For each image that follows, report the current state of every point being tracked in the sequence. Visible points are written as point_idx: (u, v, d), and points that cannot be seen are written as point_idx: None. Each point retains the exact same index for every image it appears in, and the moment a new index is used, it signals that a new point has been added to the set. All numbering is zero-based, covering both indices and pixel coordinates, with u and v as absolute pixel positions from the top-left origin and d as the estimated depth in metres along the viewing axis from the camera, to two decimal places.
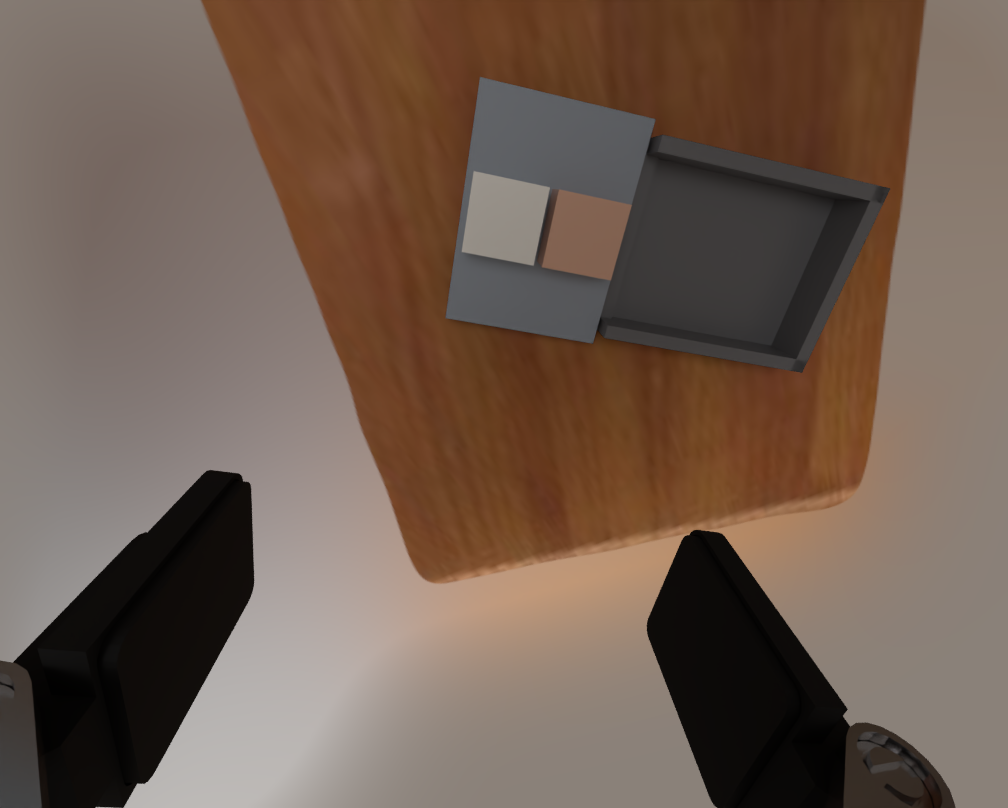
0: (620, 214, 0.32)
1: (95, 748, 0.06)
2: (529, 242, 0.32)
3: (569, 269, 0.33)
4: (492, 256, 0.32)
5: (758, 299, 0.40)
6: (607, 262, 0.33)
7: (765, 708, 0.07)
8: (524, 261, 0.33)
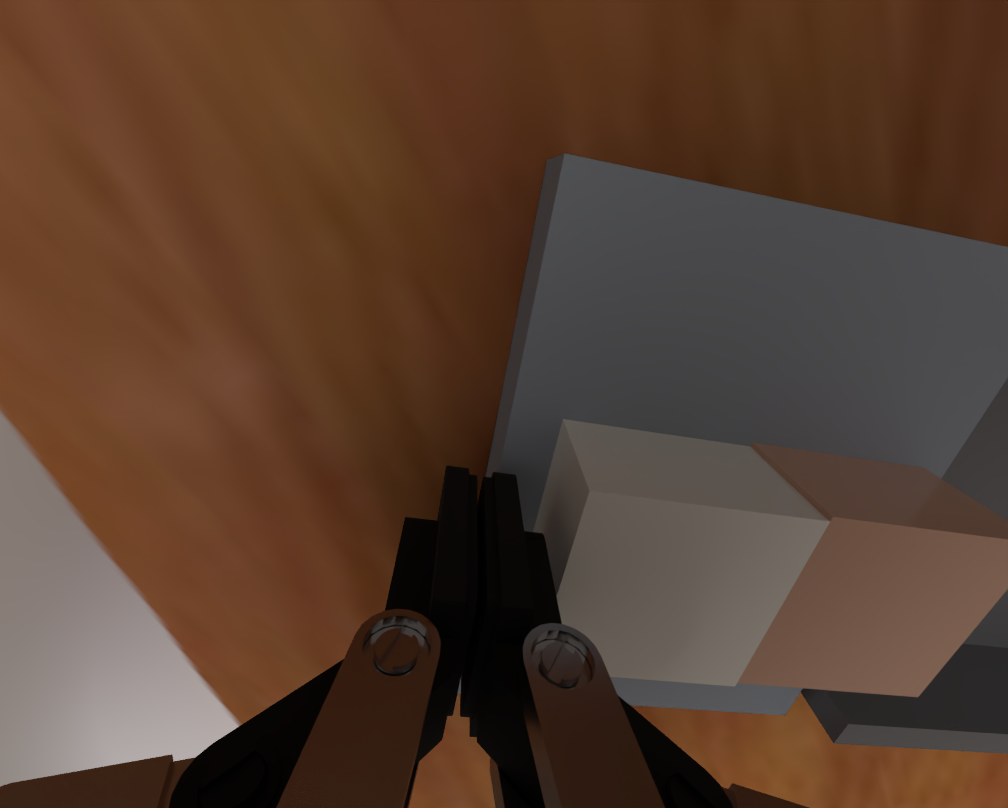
0: (1001, 566, 0.10)
1: None
2: (733, 643, 0.11)
3: (812, 683, 0.12)
4: (622, 675, 0.11)
5: None
6: (922, 665, 0.11)
7: (481, 615, 0.08)
8: (711, 680, 0.11)
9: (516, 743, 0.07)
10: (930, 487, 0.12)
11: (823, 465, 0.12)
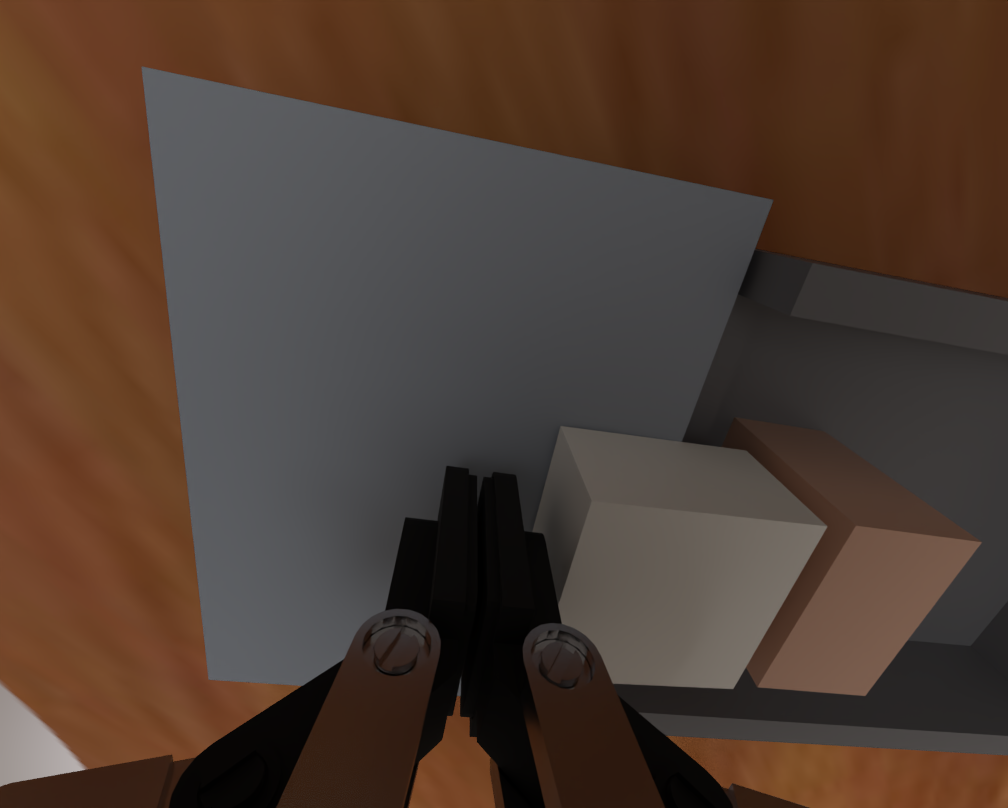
0: None
1: None
2: (732, 647, 0.11)
3: None
4: (622, 681, 0.11)
5: (961, 571, 0.17)
6: None
7: (482, 615, 0.08)
8: (710, 684, 0.11)
9: (516, 743, 0.07)
10: (786, 436, 0.13)
11: (839, 489, 0.11)
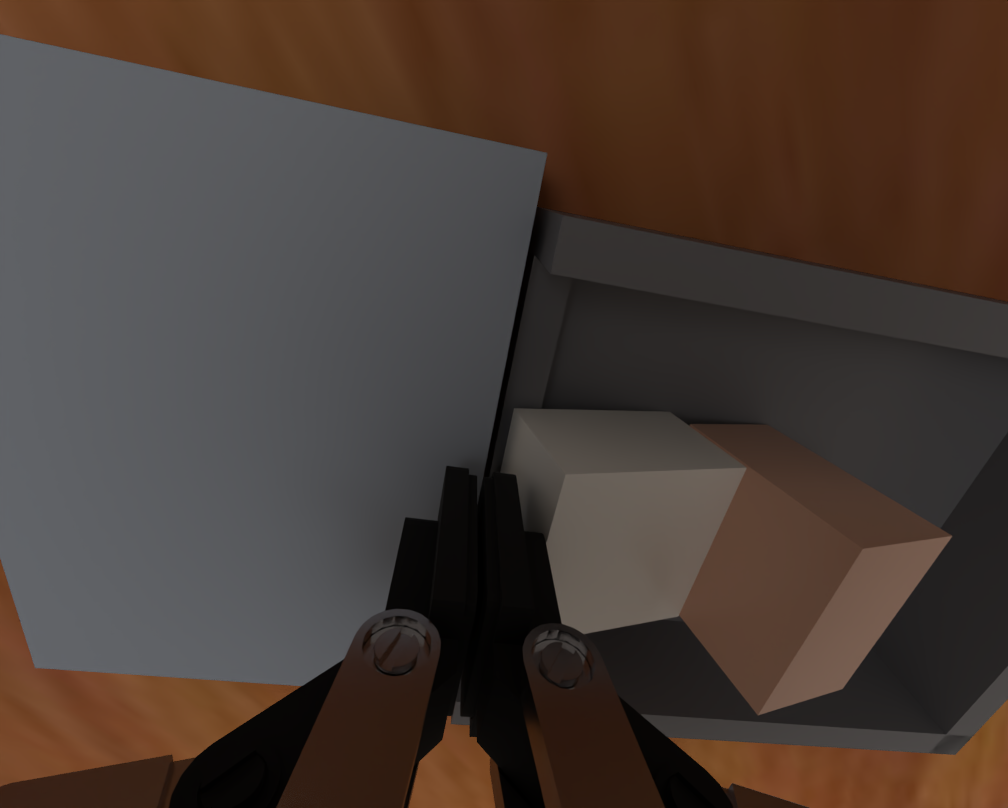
0: None
1: None
2: (677, 581, 0.13)
3: None
4: (591, 630, 0.12)
5: None
6: None
7: (481, 615, 0.08)
8: (661, 616, 0.13)
9: (516, 743, 0.07)
10: (744, 439, 0.13)
11: (822, 500, 0.11)
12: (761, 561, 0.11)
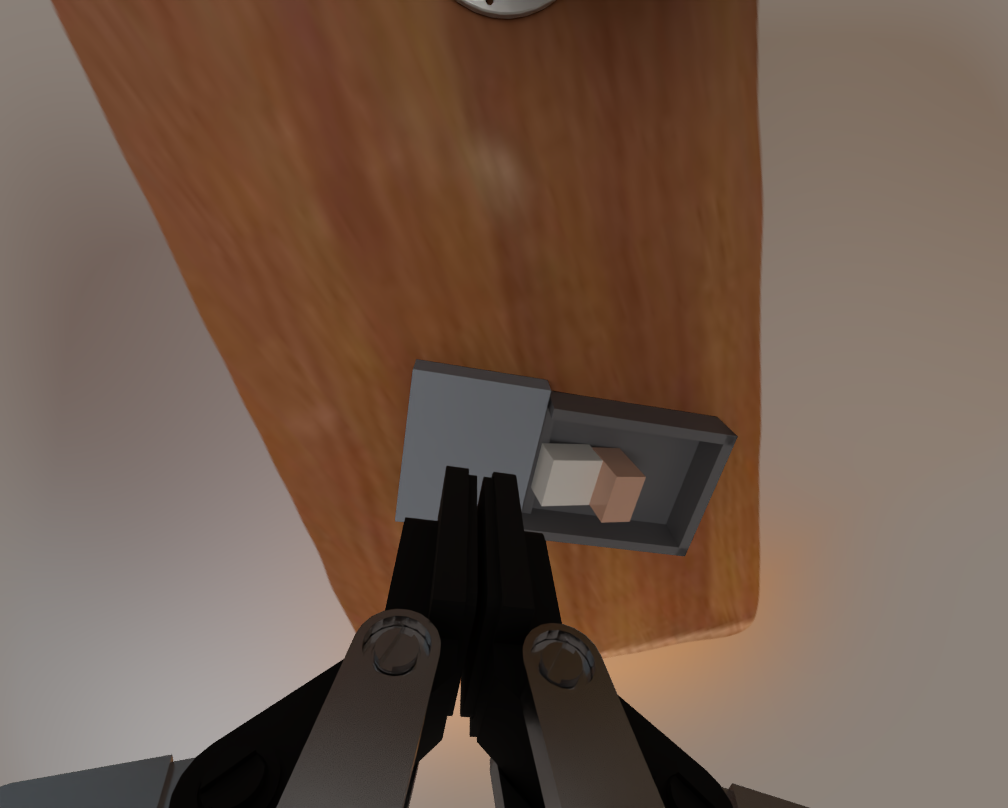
0: None
1: None
2: (587, 492, 0.45)
3: None
4: (562, 504, 0.45)
5: (651, 493, 0.49)
6: None
7: (481, 615, 0.08)
8: (583, 503, 0.45)
9: (516, 743, 0.07)
10: (606, 452, 0.45)
11: (616, 467, 0.43)
12: (603, 483, 0.43)
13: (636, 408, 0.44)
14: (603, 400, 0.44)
